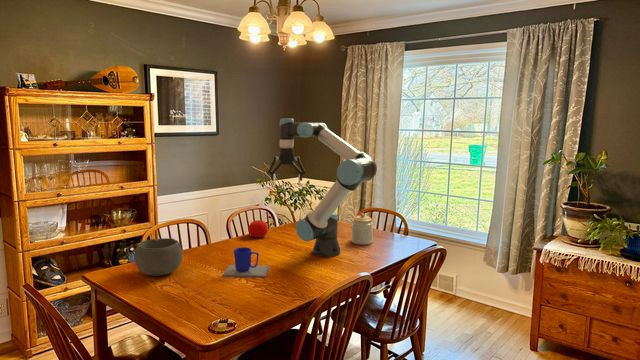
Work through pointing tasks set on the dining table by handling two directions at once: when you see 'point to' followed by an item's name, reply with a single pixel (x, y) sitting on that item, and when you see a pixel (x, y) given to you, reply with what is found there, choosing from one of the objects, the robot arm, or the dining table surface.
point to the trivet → (252, 272)
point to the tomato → (258, 228)
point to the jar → (362, 230)
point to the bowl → (158, 256)
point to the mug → (244, 259)
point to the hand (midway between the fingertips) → (286, 186)
